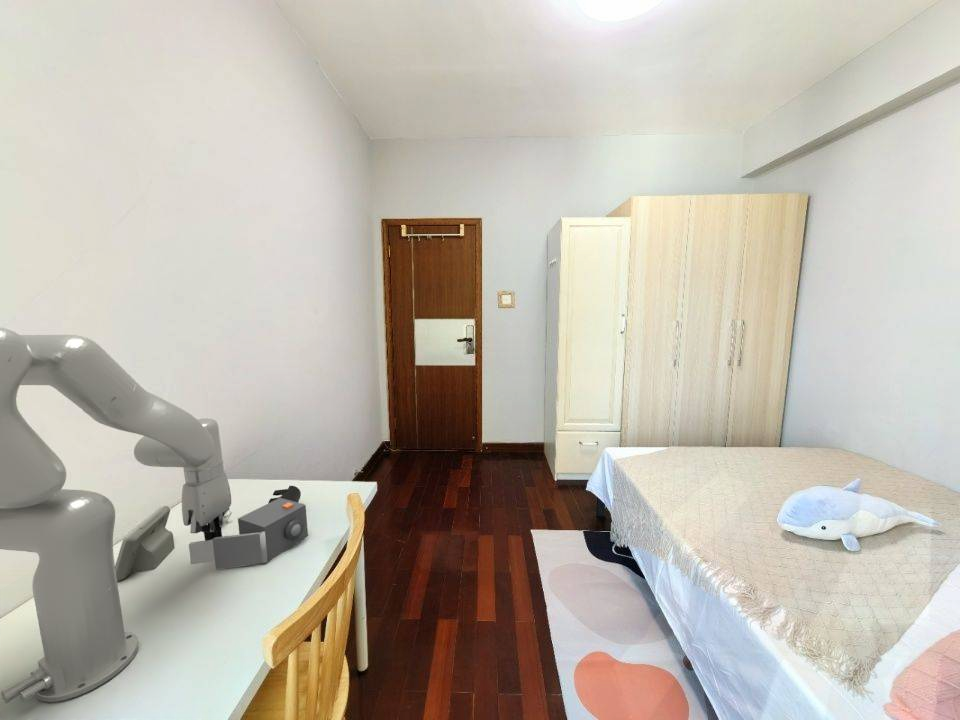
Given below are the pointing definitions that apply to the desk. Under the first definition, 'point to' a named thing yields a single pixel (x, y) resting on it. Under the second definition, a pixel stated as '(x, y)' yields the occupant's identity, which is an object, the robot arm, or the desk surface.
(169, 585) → the desk surface
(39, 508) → the robot arm
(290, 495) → the black curved claw shape
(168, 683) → the desk surface
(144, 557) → the digital clock
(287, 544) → the camera body
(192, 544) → the side door
